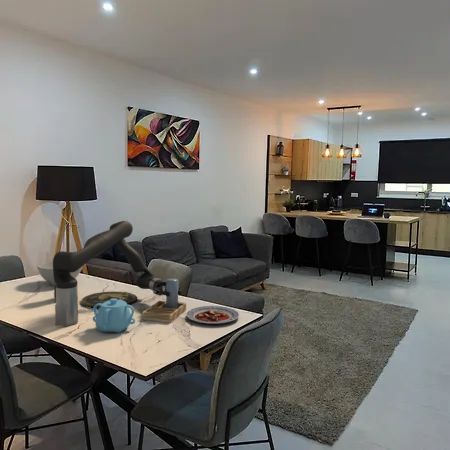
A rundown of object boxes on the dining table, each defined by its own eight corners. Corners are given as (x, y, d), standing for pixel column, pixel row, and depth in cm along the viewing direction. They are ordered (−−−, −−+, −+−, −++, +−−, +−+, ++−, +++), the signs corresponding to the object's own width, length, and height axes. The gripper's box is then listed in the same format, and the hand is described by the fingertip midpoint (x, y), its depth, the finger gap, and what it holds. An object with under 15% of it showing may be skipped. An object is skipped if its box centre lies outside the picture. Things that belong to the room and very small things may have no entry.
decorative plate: (127, 307, 208) (70, 304, 211) (127, 311, 209) (70, 308, 211) (144, 292, 238) (94, 290, 241) (144, 295, 238) (94, 293, 241)
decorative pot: (91, 326, 186) (90, 297, 184) (125, 320, 194) (125, 292, 193) (100, 338, 172) (99, 306, 171) (137, 331, 180) (137, 301, 179)
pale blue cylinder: (175, 311, 204) (175, 281, 202) (164, 310, 205) (164, 280, 203) (179, 307, 209) (180, 279, 208) (168, 306, 211) (169, 278, 209)
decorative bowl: (74, 276, 279) (74, 259, 278) (89, 284, 258) (89, 265, 257) (32, 282, 262) (31, 263, 261) (45, 291, 241) (44, 271, 240)
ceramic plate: (217, 331, 182) (217, 325, 182) (175, 319, 198) (175, 313, 198) (249, 317, 203) (249, 311, 203) (209, 306, 218) (209, 301, 218)
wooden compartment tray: (171, 322, 192) (171, 315, 192) (142, 319, 196) (142, 312, 195) (186, 310, 211) (186, 303, 211) (159, 307, 215) (159, 300, 215)
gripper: (146, 281, 213) (162, 288, 200) (170, 277, 222) (187, 284, 208) (146, 295, 214) (161, 303, 200) (170, 291, 222) (186, 298, 209)
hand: (174, 293), depth 204 cm, fingers closed on pale blue cylinder, 6 cm apart
